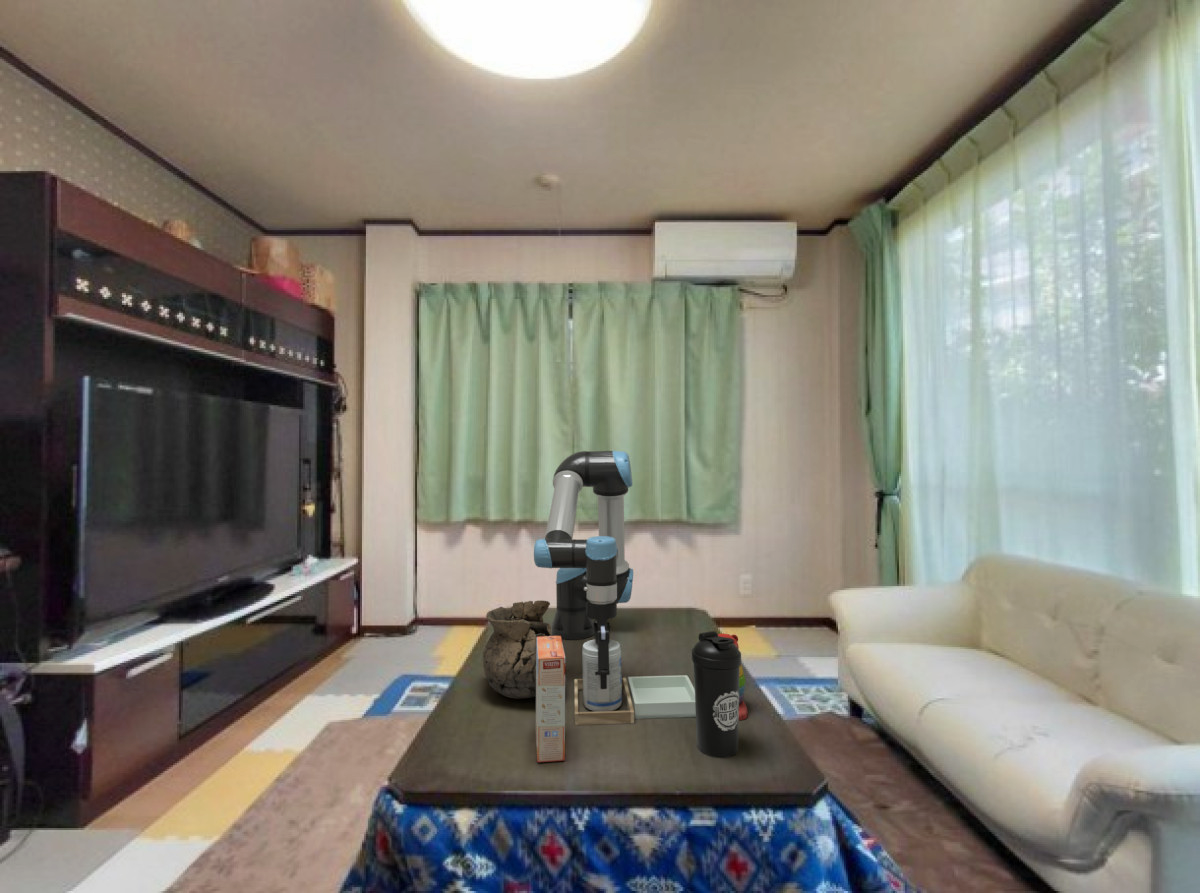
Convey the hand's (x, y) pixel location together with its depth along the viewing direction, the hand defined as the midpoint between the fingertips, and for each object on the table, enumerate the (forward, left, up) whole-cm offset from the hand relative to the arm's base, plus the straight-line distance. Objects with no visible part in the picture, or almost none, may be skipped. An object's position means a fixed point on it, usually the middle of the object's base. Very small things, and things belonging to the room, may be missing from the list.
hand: (602, 691), depth 134 cm
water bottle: (+21, +23, -3) cm, 31 cm away
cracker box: (+18, -12, -3) cm, 22 cm away
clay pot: (-9, -20, -3) cm, 22 cm away
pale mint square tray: (0, +15, -3) cm, 15 cm away
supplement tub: (0, 0, -3) cm, 3 cm away
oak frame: (0, 0, -3) cm, 3 cm away
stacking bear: (+4, +30, -3) cm, 30 cm away
